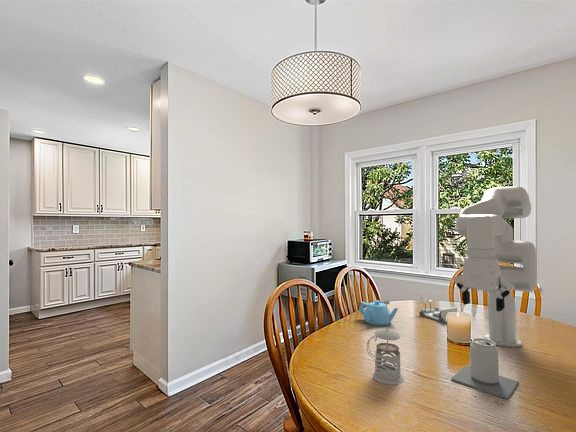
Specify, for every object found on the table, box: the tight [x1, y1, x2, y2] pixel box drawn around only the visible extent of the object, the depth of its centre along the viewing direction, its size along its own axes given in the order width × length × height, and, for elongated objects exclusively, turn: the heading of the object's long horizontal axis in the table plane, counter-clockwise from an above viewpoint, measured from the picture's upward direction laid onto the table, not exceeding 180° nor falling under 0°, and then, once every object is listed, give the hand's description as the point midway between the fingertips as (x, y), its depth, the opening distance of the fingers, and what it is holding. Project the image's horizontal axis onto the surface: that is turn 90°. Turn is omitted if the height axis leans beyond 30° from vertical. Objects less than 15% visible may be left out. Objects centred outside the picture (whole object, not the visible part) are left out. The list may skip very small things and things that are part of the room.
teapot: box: [358, 299, 399, 327], centre depth 156 cm, size 15×15×11 cm
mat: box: [451, 365, 519, 401], centre depth 97 cm, size 13×15×1 cm
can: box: [469, 337, 500, 384], centre depth 97 cm, size 8×8×12 cm
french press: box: [366, 299, 405, 386], centre depth 101 cm, size 10×12×25 cm
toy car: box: [418, 296, 458, 324], centre depth 162 cm, size 18×10×12 cm
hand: (482, 307), depth 98 cm, fingers open, 9 cm apart
